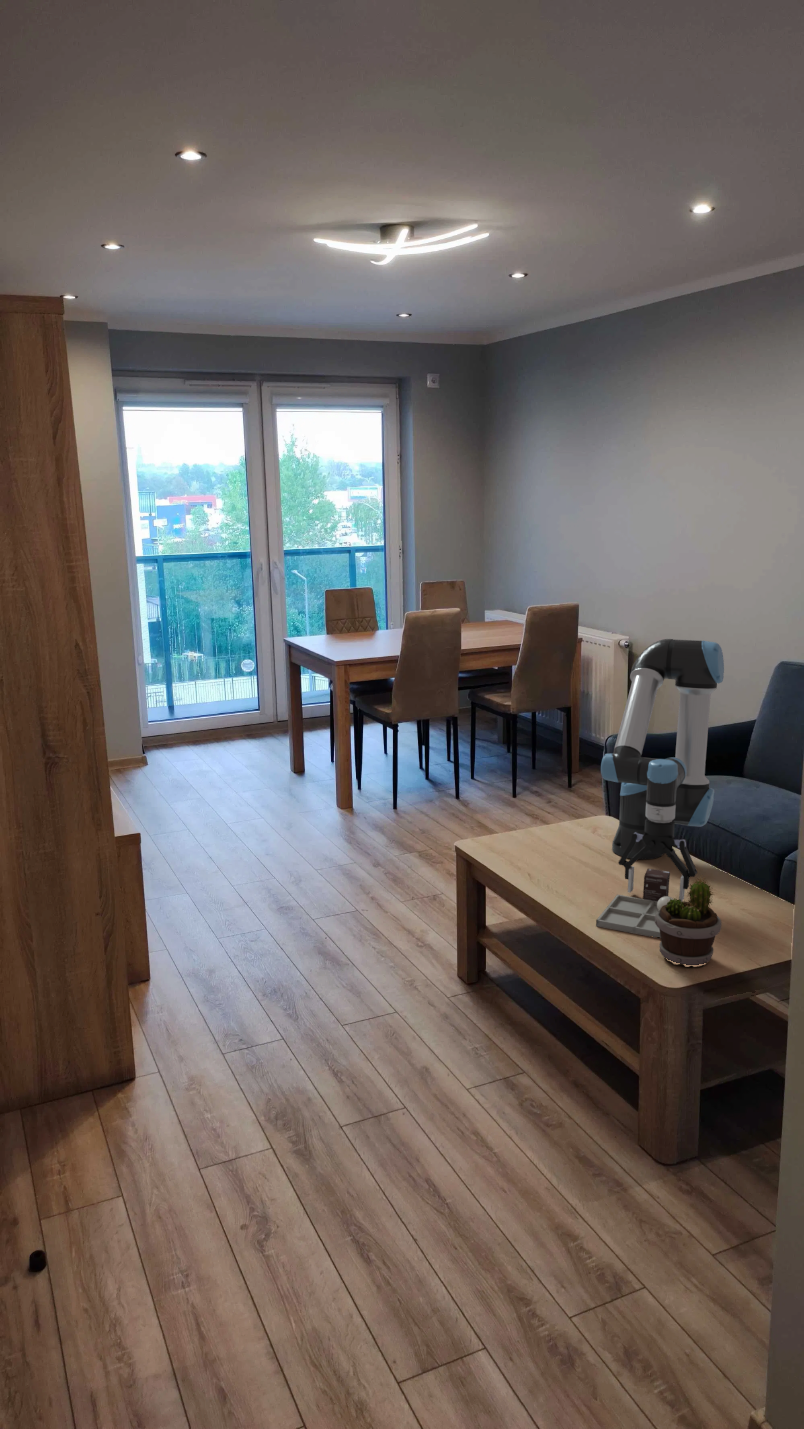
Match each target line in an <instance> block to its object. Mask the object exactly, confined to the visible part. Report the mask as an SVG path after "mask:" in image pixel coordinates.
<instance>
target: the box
mask: <svg viewBox="0 0 804 1429" xmlns="http://www.w3.org/2000/svg"><path fill="white" fill-rule="evenodd" d="M670 876H671V871H668V870H667V871H666V870H663V869H662V870H661V869H654V868H647V869H646V870H645V873H644V876H643V891H642V892H643V894H642V899H646V900H652V901H657V902H658V900H659V899H660V898H661V897H664V896H669V890H670V889H669V888H670V878H671V877H670Z"/></svg>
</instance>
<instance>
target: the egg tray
mask: <svg viewBox="0 0 804 1429" xmlns="http://www.w3.org/2000/svg"><path fill="white" fill-rule="evenodd" d="M657 912H658V908H657V901H652V900H646V899H643V898H639V897H634V896H628V895H623V894H618V893H617V894H616V896H615V897H614V898H613V899H612V900H611V902H610V903H609V904H608V905H607V907H605V908H604V910H603V911H602V913H600V915H599V916H598V917H597V919H596V922H595V927H599V928H604V929H609V930H614V931H619V932H620V931H621V932H625V933H630V934H635V935H640V936H646V937H650V936H653V937H652V938H655V937H660V929H659V928H658V927H657V926H656V924H655V915H656V913H657ZM660 938H661V937H660ZM660 938H659V939H660Z"/></svg>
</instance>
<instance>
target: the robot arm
mask: <svg viewBox="0 0 804 1429" xmlns="http://www.w3.org/2000/svg"><path fill="white" fill-rule="evenodd" d="M724 660H725V659H724V654H723V649H722V647H721V645H720V643H717V642H715V641H707V640H691V639H690V640H689V639H674V638H664V639H661V640H658V641H656V642H653V643H651V644H650V645H649V646H647V647H646V648H645V649H644V650H642V652H641V653H640V654H639V655H638V657H636V659H635V661H634V663H633V665H632V667H631V670H630V676H629V679H630V681H631V685H630V689H629V693H628V696H627V700H626V703H625V707H624V710H623V711H624V712H623V714H622V718H621V723H620V726H619V729H618V733H617V737H616V740H615V745H614V747H613V748H614V749H613V753H605V754H604V755H603V757H602V759H601V763H600V774H601V777H602V779H604V781H609V782H610V781H611V782H613V783H614V782H615V783H620V793H619V796H620V797H619V798H620V799H619V820H618V821H619V822H618V828H617V830H616V833H615V835H614V837H613V840H612V843H611V844H612V846H611V850H612V852H613V853H614V854H615V855H617V856H620V858H619V860H618V862H617V863H618V865H619V866H623V867H624V879H625V880H627V893H628V894H629V893H632V892H633V890H634V880H635V879H634V878H635V866H633V865H634V864H635V863H636V862H637V861H638V860H653V859H654V860H655V859H658V858H659V857H662V856H663V855H666V856H667V857H668V858H669V859H670V861H671V862H672V863H673V865H675V867H676V869H677V870H678V871H679V873H680V874H681V876H680V879H679V896H678V900H681V902H682V901H684V900H685V893H686V891H685V890H689V887H690V878H691V877H692V878H694V877H695V876H696V875H697V874H698V870H697V867H696V866H695V864H694V862H693V859H692V856H691V855H690V852H689V850H688V847H687V840H686V838H682V839H676V838H675V825H682V826H687V827H703V826H705V825H706V824H707V823H708V821H709V819H710V815H711V812H712V808H713V805H714V799H715V789H714V788H712V787H710V780H709V779H708V778H707V777H706V775H705V774H706V760H707V749H708V748H707V747H708V735H709V734H708V732H709V723H710V722H709V720H710V707H711V695H712V694H713V693H714V692H715V691H716V690H718V689H717V688H718V687H717V686H718V684H722V683H723V681H724V673H725V663H724V662H725V661H724ZM666 679H667V680H675V681H674V682H675V683H674V687H675V688H676V689H677V690H678V692H679V701H678V702H679V703H678V716H677V717H678V718H677V728H676V729H677V730H676V745H675V755H674V756H675V757H674V756H673V757H667V758H651V757H643V756H642V754H643V749H644V746H645V743H646V737H647V733H648V730H649V726H650V721H651V717H652V714H653V711H654V706H655V702H656V698H657V693H658V690H659V688H661V687H662V686H663V684H664V681H665V680H666ZM674 846H677V849H679V850H680V854H681V856H682V859H683V861H684V862H685V864H684V862H683V861H682V859H681V858H680V857H679V856H678V854H677V853H676V850H675V849H674V848H673V847H674ZM627 859H629V860H627ZM695 878H696V877H695ZM688 884H689V885H688ZM688 886H689V887H688Z"/></svg>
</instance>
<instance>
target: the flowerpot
mask: <svg viewBox="0 0 804 1429" xmlns="http://www.w3.org/2000/svg"><path fill="white" fill-rule="evenodd" d="M702 877H703V874H701V876H698V877H695V879H694V880H692V882H691V883H689V884H688V885H689V886H688V890H686V891H687V892H686V894H687V895H686V898H687V900H683V901H682V902H681V900H679V896H675V897H673V899H674V900H672V899H671V898H672V897H671V898H670V901H669V902H668V903H667V905H664V906H662V907H661V909H660V910H659V911H658V912H657V913H656V915H655V924H656V926H657V927H658V928H659V929H660V937H661V939H660V942H659V952H660V954H661V955H662V956H663V958H664V957H665V958H667V959H668V960H671V961H673V962H676V963H680V964H686V965H699V964H704V963H707V962H709V961H711V960H712V957H713V954H714V947H713V945H714V941H715V939H716V936H717V935H718V934H720V932H721V930H722V920H721V917H720V916H719V915H718V914H717V913H716V912H715V911H714V910H713V909H712V907H711V906H713V903H712V900H713V899H712V898H713V896H714V892H713V886H712V885H711V884H708V881H707V880H705V879H706V877H705V876H704V877H703V878H702ZM665 958H664V959H665ZM707 964H708V963H707Z"/></svg>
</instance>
